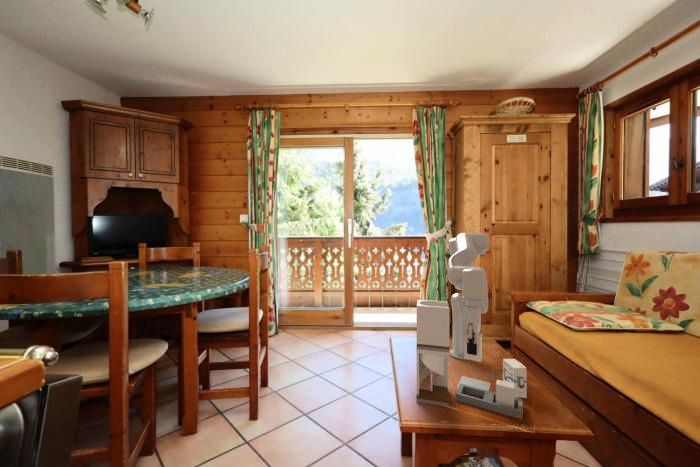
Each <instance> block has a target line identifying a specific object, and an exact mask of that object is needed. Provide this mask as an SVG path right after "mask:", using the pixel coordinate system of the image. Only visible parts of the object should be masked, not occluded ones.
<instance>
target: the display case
mask: <svg viewBox="0 0 700 467" xmlns="http://www.w3.org/2000/svg"><path fill="white" fill-rule="evenodd" d="M448 302H449V301H445V300H444V301H443V300H427V299H417V303H416V399H415V400H416V401H415V402H416V403H420V404H421V403H422V404H427V405H429V404H430V405H434V406H435V405H436V406H441V407H448V408H450V395H449V387H448V384H449V382H448V379H449V376H448V375H449V373H448V372H449V371H448V370H449V368H448V367H449V366H448V365H449V364H448V363H449V361H448V360H449V358H448V357H450V353H449V351H450V307H449V304H448Z"/></svg>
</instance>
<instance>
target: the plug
mask: <svg viewBox="0 0 700 467" xmlns="http://www.w3.org/2000/svg"><path fill="white" fill-rule="evenodd" d="M472 334H473V335H474V334H475V333H472ZM467 336H468V331H467V333H466V334H464V359H469V360H468V361H473V362H474V361H475V362H479V363H481V362H482V359H483V333H480V332H479V334H478V335H477V336H476V344H477V355H472V354H468V353H467ZM472 338H474V337H472Z"/></svg>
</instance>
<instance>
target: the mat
mask: <svg viewBox="0 0 700 467" xmlns="http://www.w3.org/2000/svg"><path fill="white" fill-rule="evenodd" d="M460 384H464V385H468V386H472V387H476V388H479V389H483V390H487V391H490V387H491V382H489V381H485V380H480V379H477V378H474V377H473V378H472V377H468V376H466V375H462V376H461V378H460V380H459V382H458V384H457V386H456V388H458V387H459V385H460Z"/></svg>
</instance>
